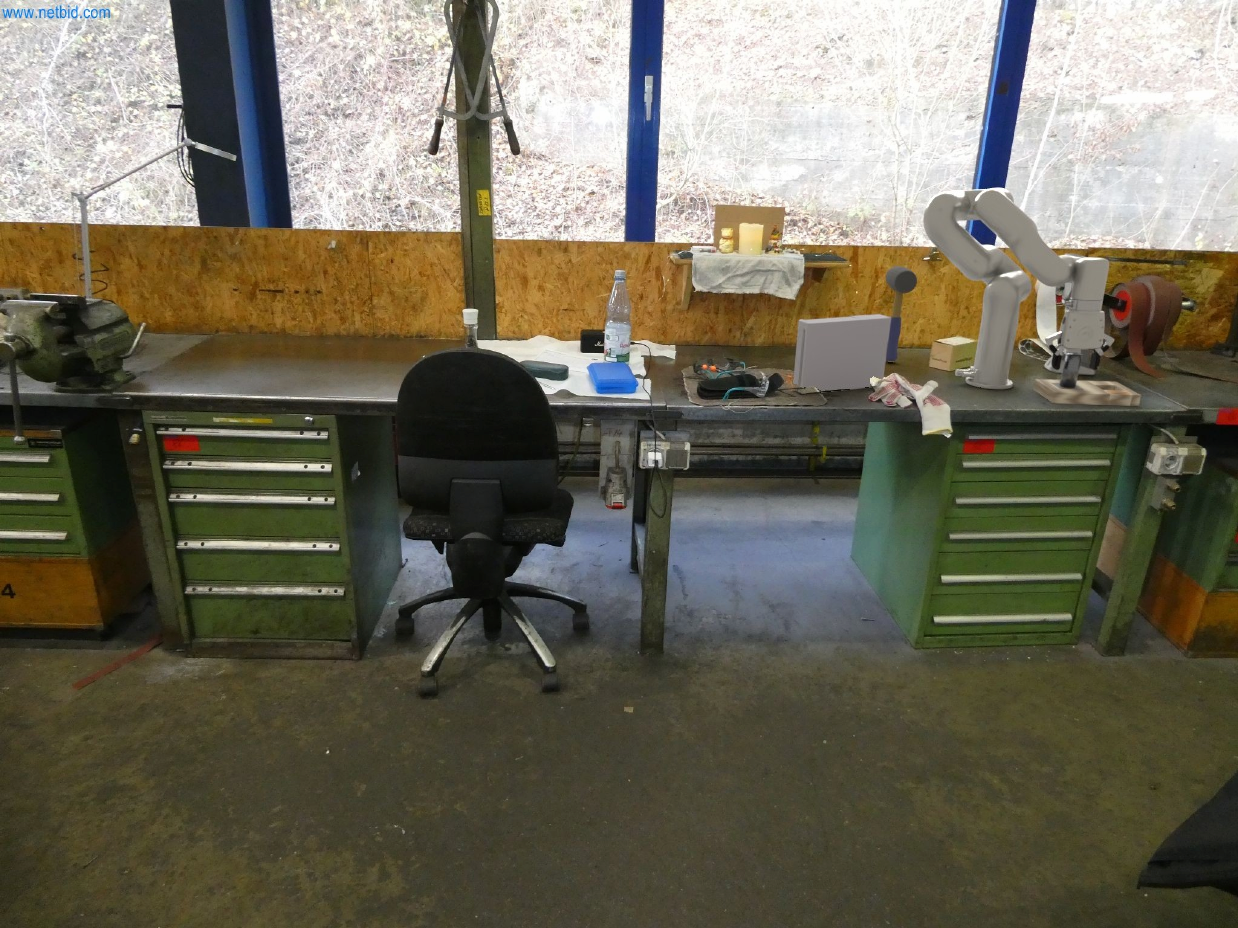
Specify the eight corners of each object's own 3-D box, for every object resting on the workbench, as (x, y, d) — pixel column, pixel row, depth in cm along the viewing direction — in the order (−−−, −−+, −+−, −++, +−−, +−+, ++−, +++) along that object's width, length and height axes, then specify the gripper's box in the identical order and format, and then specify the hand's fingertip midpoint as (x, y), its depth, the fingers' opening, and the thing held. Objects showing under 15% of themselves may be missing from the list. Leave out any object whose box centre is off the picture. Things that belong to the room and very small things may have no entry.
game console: (789, 389, 228) (795, 319, 220) (869, 381, 237) (878, 314, 229) (800, 395, 223) (807, 323, 215) (882, 386, 232) (891, 317, 224)
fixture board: (1052, 403, 217) (1054, 392, 216) (1033, 389, 230) (1035, 378, 229) (1138, 406, 215) (1141, 395, 214) (1113, 392, 228) (1116, 381, 227)
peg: (1062, 387, 220) (1069, 355, 217) (1056, 383, 224) (1063, 352, 221) (1078, 388, 220) (1085, 355, 217) (1071, 384, 224) (1078, 352, 220)
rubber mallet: (873, 357, 265) (885, 264, 254) (897, 358, 265) (909, 264, 254) (883, 366, 254) (895, 269, 243) (907, 367, 253) (920, 270, 242)
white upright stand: (1040, 364, 258) (1062, 252, 246) (1084, 366, 256) (1108, 253, 243) (1050, 373, 248) (1074, 256, 235) (1096, 375, 245) (1122, 258, 232)
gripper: (1057, 308, 211) (1046, 371, 217) (1126, 307, 209) (1114, 372, 215) (1045, 303, 218) (1035, 365, 224) (1113, 303, 216) (1101, 366, 222)
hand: (1074, 368), depth 220 cm, fingers open, 9 cm apart
